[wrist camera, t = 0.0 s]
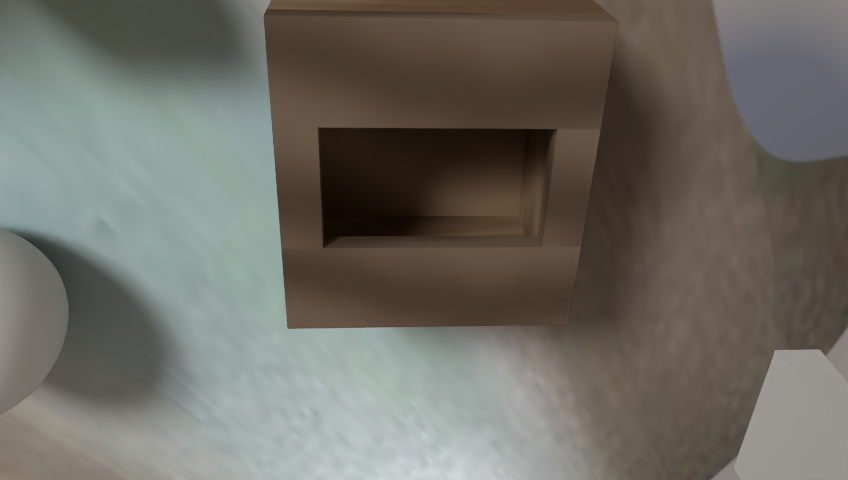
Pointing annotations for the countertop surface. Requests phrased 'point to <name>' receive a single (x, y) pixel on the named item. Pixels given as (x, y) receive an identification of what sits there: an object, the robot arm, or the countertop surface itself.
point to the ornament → (28, 318)
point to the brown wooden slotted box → (434, 157)
